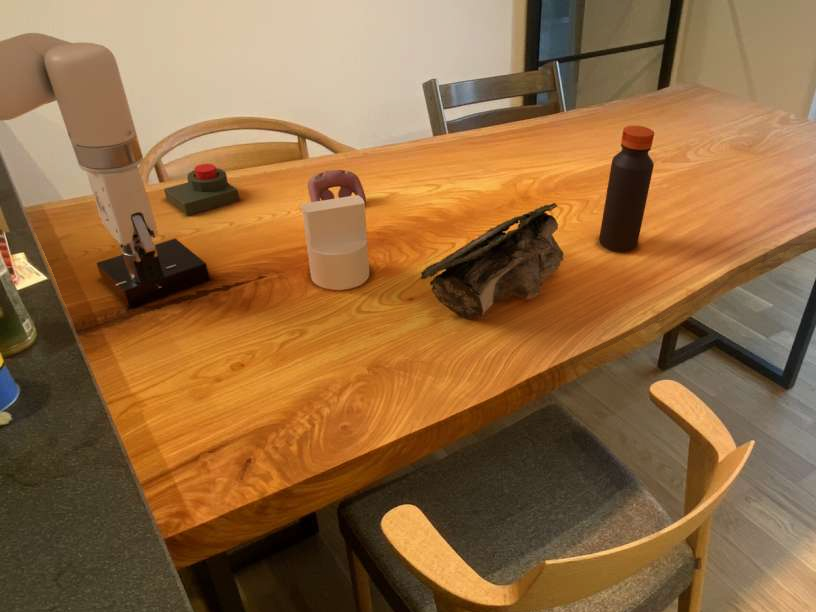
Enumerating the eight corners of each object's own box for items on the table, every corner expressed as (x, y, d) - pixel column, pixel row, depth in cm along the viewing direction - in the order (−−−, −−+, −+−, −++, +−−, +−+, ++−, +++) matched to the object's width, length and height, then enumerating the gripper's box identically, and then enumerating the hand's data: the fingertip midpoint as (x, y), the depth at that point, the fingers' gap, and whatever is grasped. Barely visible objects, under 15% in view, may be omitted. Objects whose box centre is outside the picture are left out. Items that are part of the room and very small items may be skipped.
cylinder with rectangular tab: (320, 294, 104) (311, 222, 96) (304, 266, 110) (294, 195, 102) (377, 282, 107) (372, 211, 100) (358, 255, 113) (353, 186, 106)
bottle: (590, 242, 121) (608, 129, 109) (613, 230, 125) (633, 120, 113) (622, 257, 118) (644, 142, 105) (644, 244, 122) (668, 132, 109)
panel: (135, 316, 97) (128, 297, 95) (100, 280, 103) (93, 262, 101) (217, 286, 104) (213, 268, 102) (179, 254, 110) (175, 237, 108)
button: (202, 182, 123) (200, 173, 122) (192, 176, 125) (190, 166, 124) (221, 177, 125) (219, 168, 124) (211, 171, 127) (209, 162, 126)
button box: (187, 215, 121) (181, 194, 118) (165, 199, 125) (160, 178, 123) (241, 200, 127) (237, 179, 124) (219, 185, 131) (214, 164, 128)
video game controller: (362, 205, 131) (355, 167, 129) (368, 204, 127) (361, 165, 125) (310, 213, 127) (302, 174, 125) (315, 212, 123) (306, 172, 121)
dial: (167, 277, 100) (159, 247, 97) (136, 286, 97) (126, 256, 94) (156, 264, 102) (148, 235, 99) (125, 273, 100) (115, 243, 97)
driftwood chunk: (438, 358, 101) (495, 327, 89) (391, 283, 100) (442, 242, 88) (552, 281, 118) (612, 246, 106) (512, 216, 116) (569, 174, 104)
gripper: (57, 135, 91) (100, 257, 102) (97, 180, 81) (139, 309, 93) (117, 125, 95) (152, 243, 106) (162, 166, 85) (195, 292, 97)
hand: (145, 273), depth 100 cm, fingers closed on dial, 4 cm apart
